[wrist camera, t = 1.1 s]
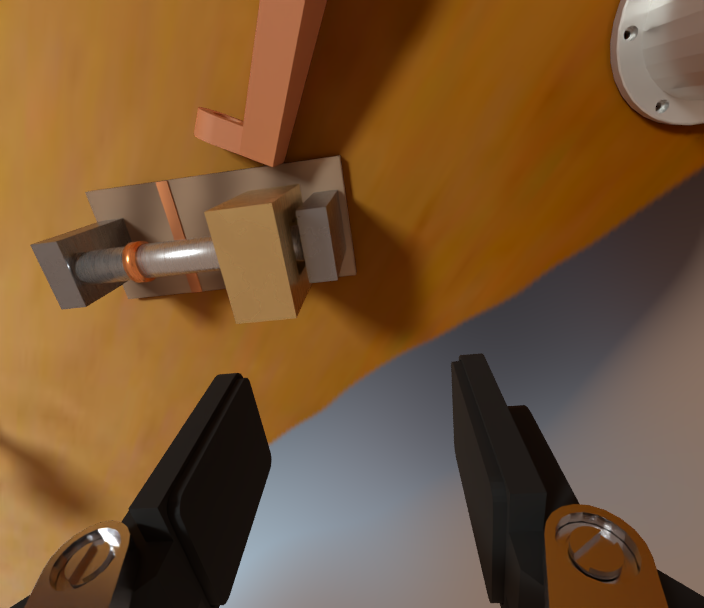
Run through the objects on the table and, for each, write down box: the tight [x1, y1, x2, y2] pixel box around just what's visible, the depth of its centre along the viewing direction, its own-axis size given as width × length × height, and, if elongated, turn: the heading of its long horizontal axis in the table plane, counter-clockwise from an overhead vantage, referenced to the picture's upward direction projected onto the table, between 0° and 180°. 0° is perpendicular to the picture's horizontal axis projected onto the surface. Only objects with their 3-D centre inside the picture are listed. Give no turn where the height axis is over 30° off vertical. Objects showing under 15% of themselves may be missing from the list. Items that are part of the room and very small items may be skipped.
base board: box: [85, 155, 356, 299], centre depth 34 cm, size 22×10×1 cm, turn 98°
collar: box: [204, 184, 312, 324], centre depth 27 cm, size 4×7×8 cm, turn 8°
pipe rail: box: [31, 189, 346, 309], centre depth 31 cm, size 21×5×8 cm, turn 98°
